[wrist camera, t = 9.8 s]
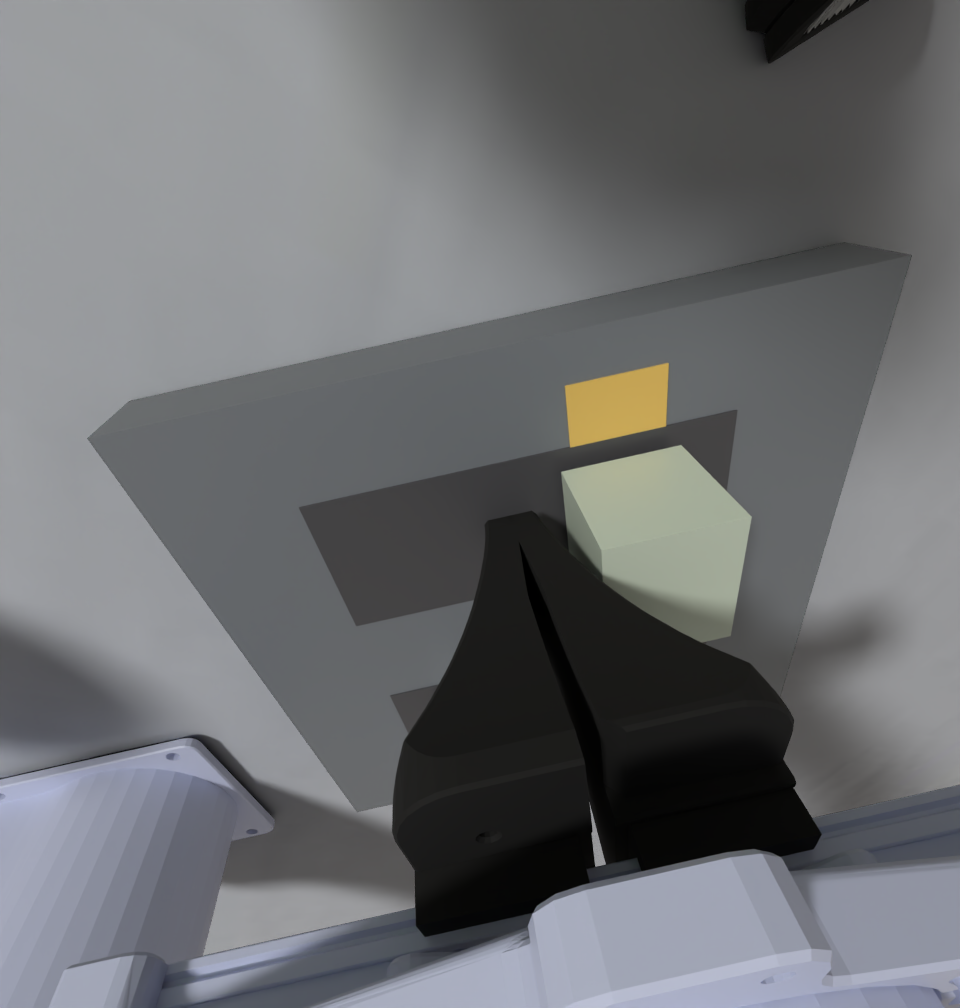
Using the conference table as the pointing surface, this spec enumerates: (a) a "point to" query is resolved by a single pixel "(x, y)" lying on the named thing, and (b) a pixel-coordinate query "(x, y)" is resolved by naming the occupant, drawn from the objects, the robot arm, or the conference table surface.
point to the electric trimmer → (793, 20)
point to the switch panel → (499, 474)
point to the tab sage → (660, 537)
